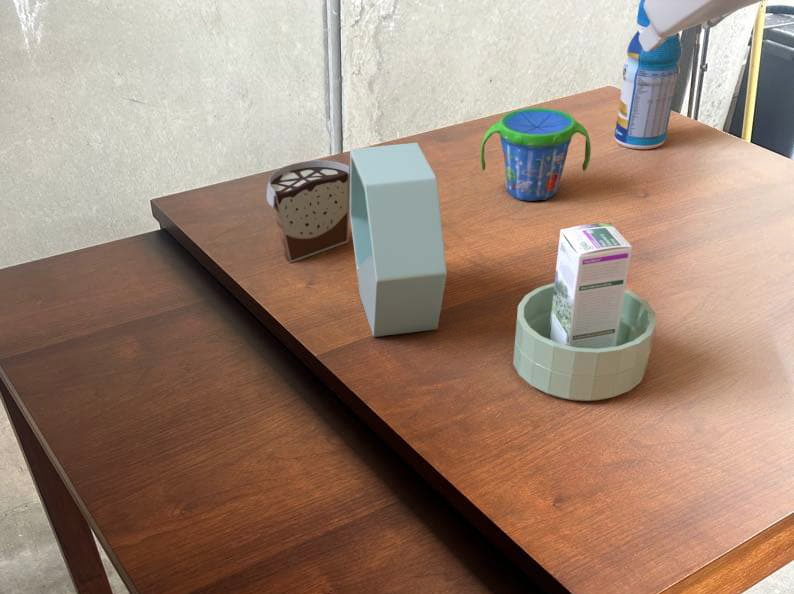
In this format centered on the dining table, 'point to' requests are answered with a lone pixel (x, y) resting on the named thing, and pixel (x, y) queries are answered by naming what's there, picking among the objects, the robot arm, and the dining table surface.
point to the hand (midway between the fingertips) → (675, 32)
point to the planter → (397, 238)
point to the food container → (310, 206)
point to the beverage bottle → (647, 90)
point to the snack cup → (535, 150)
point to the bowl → (582, 351)
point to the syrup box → (589, 286)
